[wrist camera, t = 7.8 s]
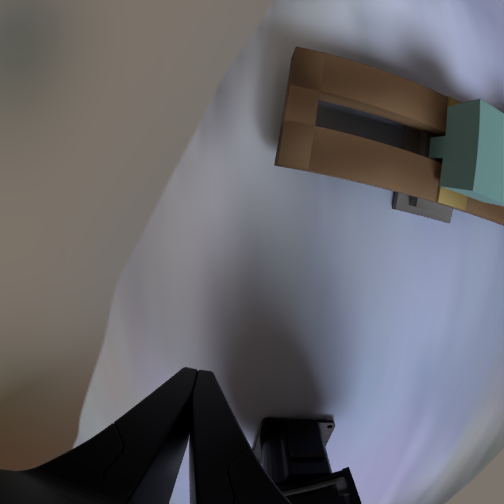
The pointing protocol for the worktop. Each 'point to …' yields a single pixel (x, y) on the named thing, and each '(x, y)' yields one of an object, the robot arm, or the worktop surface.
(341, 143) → the brown long slotted block
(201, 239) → the worktop surface
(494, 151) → the block
